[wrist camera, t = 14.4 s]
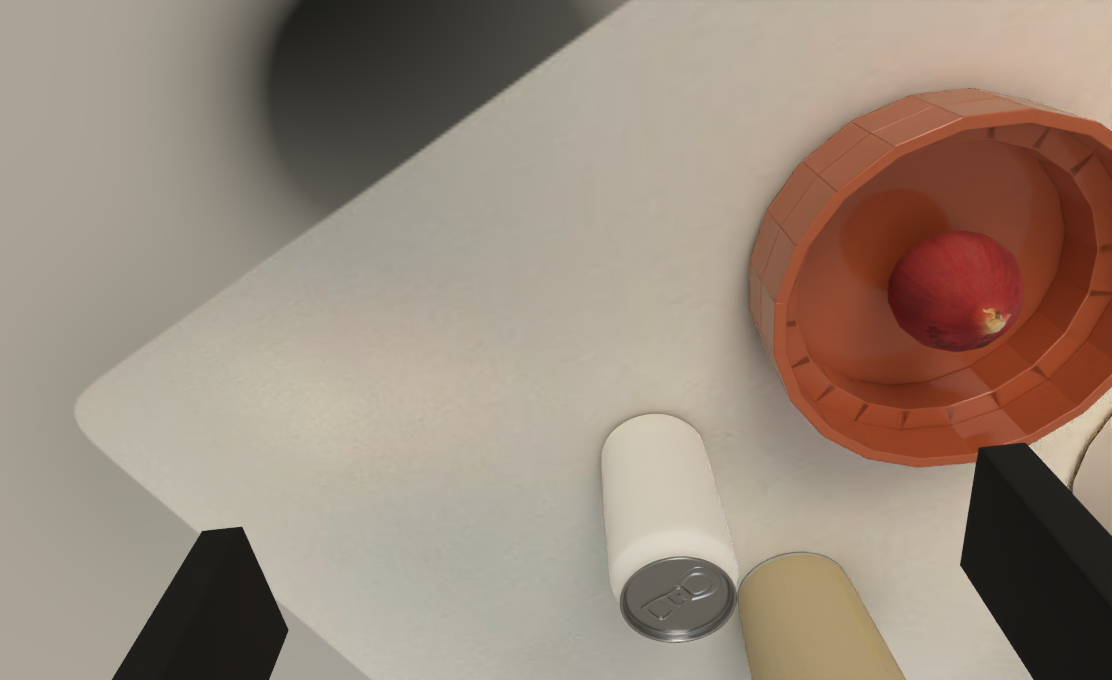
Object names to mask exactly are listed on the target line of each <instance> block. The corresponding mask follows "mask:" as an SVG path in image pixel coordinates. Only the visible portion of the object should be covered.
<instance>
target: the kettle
mask: <svg viewBox="0 0 1112 680" xmlns="http://www.w3.org/2000/svg"><path fill="white" fill-rule="evenodd" d="M1072 494H1073V495H1074V496H1075V497H1076V498H1077V499H1078V500H1079V501H1080V502H1081V503H1082V504H1083V505H1084V506H1085V508H1086V509H1087V510H1088V511H1089V512H1090V513H1091V514H1092V515H1093V516H1094V517H1095V518H1096V519H1097V520H1098V522H1099V523H1100V524H1101V525H1102V526H1103V527H1104V528H1105V529H1106V530H1107V531H1108V532H1109V533H1110V534H1111V536H1112V416H1111V417H1110V419H1109V420H1108V421H1107V422H1106V424H1105V425H1104V426H1103V428H1102V429H1101V430H1100V432H1099V433H1098V434H1097V436H1096V437H1095V438H1094V439H1093V441H1092V442H1091V443H1090V445H1089V447H1088V449H1087V452H1086V454H1085V456H1084V459H1083V461H1082V463H1081V466H1080V468H1079V470H1078V473H1077V475H1076V477H1075V480H1074V482H1073V492H1072Z"/></svg>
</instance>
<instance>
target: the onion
mask: <svg viewBox="0 0 1112 680" xmlns="http://www.w3.org/2000/svg"><path fill="white" fill-rule="evenodd" d="M888 303H889V305H890V308H891V310H892V312H893V315H894V317H895V319H896V321H897V323H898V325H899V327H900V328H902V329H903V330H904V331H905V332H907V333H908V334H909V335H910V336H912V337H913V338H914V339H915V340H917V341H918V342H920V343H921V344H922V345H924V346H928V347H931V348H936V349H941V350H946V351H951V352H963V351H968V350H973V349H979V348H983V347H985V346H987V345H989V344H990V343H992V342H993V341H994V340H996V339H997V338H999V337H1001V336H1002V335H1004V334H1005V333H1006V332H1007V331H1008V330H1009V329H1010V328H1011V326H1012V325H1013V324H1014V323H1015V322H1016V321H1017V319H1018V316H1019V314H1020V312H1021V309H1022V307H1023V304H1024V279H1023V277H1022V274H1021V272H1020V269H1019V267H1018V265H1017V262H1016V259H1015V257H1014V255H1013V254H1011V253H1010V252H1009V251H1008V250H1007V249H1006V248H1005V247H1003V246H1002V245H1000V244H999V243H998V242H996V241H995V240H994V239H992V238H991V237H988V236H986V235H984V234H981V233H975V232H970V231H964V230H957V231H952V232H946V233H941V234H936V235H932V236H930V237H928V238H926V239H924V240H923V241H921V242H919V243H917V244H915V245H913V246H912V247H911V248H910V249H909V250H908V251H907V252H906V253H905V254H904V255H903V256H902V257H901V258H899V260H898V261H897V263H896V266H895V268H894V270H893V272H892V274H891V276H890V279H889V281H888Z"/></svg>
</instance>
